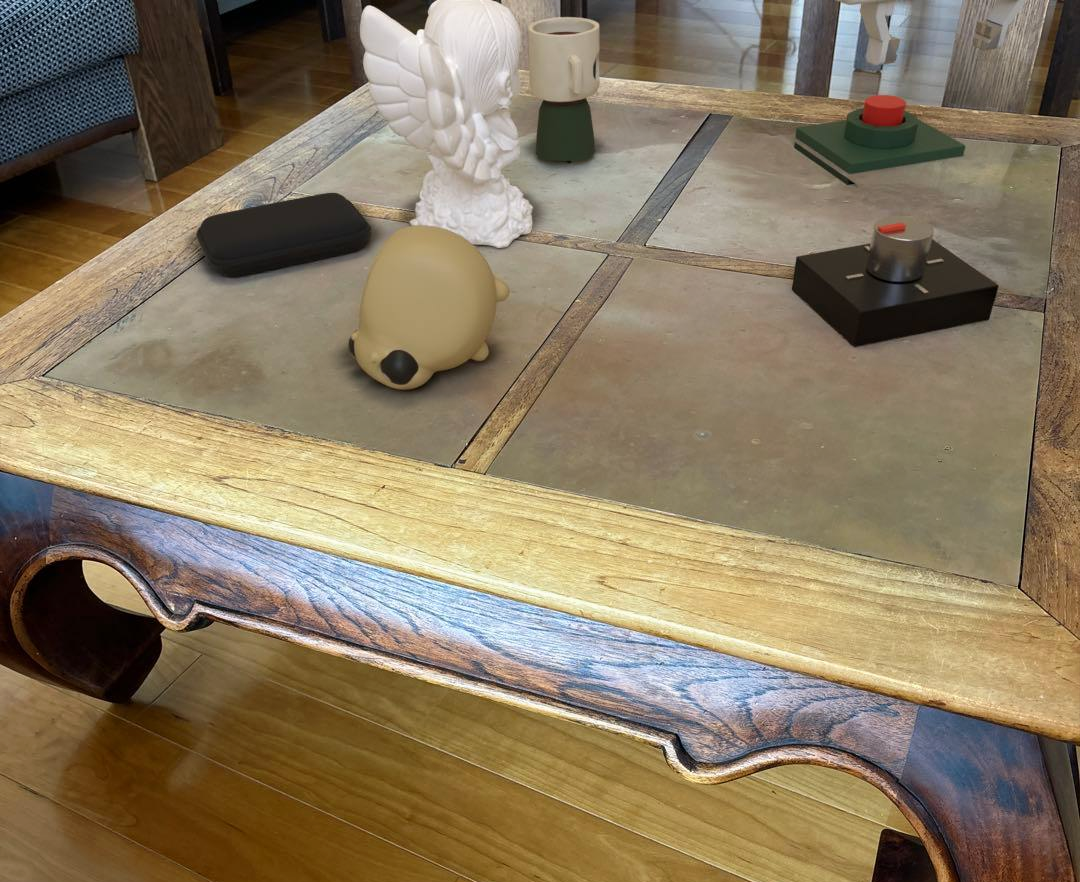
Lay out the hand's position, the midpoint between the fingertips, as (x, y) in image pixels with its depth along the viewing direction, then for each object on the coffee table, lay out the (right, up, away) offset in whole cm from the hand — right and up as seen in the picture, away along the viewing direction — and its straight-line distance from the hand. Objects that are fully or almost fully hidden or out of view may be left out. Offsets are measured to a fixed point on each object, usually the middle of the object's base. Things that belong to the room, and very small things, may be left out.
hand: (934, 55), depth 77 cm
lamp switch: (+5, +3, +29) cm, 30 cm away
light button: (+5, +6, +27) cm, 28 cm away
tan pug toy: (-38, -23, +1) cm, 45 cm away
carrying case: (-53, -10, +17) cm, 57 cm away
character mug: (-27, +4, +32) cm, 42 cm away
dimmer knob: (-2, -15, +3) cm, 16 cm away
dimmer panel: (-2, -18, +5) cm, 19 cm away
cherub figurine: (-36, -8, +19) cm, 41 cm away
